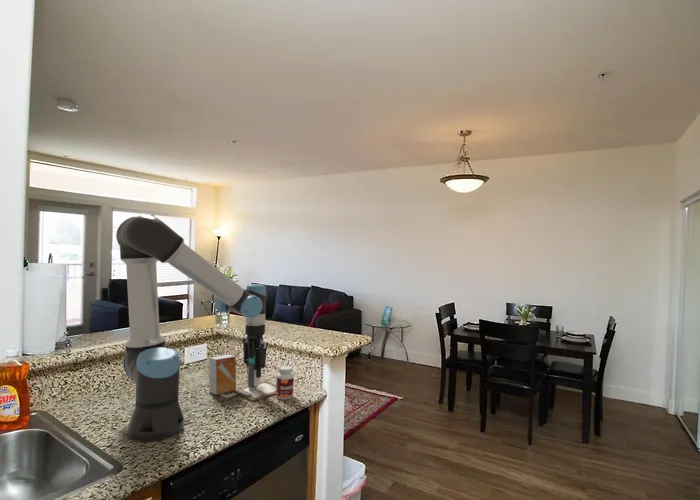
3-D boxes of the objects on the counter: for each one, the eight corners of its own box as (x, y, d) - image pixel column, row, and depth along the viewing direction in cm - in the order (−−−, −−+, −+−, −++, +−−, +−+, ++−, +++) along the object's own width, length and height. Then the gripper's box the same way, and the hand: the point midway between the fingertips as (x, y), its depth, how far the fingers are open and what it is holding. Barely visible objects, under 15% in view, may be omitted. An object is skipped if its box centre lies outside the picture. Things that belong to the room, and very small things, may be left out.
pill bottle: (279, 401, 143) (280, 371, 143) (273, 395, 149) (274, 366, 149) (295, 398, 147) (296, 369, 147) (289, 393, 152) (289, 364, 152)
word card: (226, 397, 145) (226, 396, 145) (218, 394, 148) (218, 393, 148) (242, 392, 150) (242, 391, 150) (234, 389, 154) (234, 388, 154)
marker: (253, 391, 150) (254, 360, 150) (245, 389, 152) (246, 358, 152) (259, 388, 154) (260, 357, 154) (252, 386, 155) (253, 356, 155)
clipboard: (252, 401, 142) (252, 398, 142) (232, 392, 150) (232, 388, 150) (286, 390, 154) (286, 387, 154) (265, 382, 163) (266, 379, 163)
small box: (216, 395, 145) (215, 359, 146) (209, 392, 150) (208, 357, 151) (236, 390, 151) (235, 355, 152) (228, 387, 156) (228, 354, 157)
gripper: (276, 325, 151) (274, 386, 151) (250, 320, 161) (249, 377, 161) (260, 328, 145) (258, 391, 145) (235, 322, 156) (233, 381, 156)
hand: (253, 383), depth 153 cm, fingers closed on marker, 3 cm apart
